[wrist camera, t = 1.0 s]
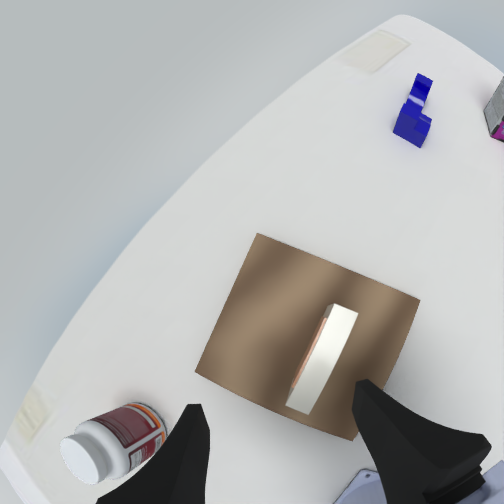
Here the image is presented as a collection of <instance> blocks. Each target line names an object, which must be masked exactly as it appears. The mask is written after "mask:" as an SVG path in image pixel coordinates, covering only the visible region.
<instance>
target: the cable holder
mask: <svg viewBox="0 0 504 504" xmlns="http://www.w3.org/2000/svg"><path fill="white" fill-rule="evenodd" d="M432 82H433V81H432V80H431V79H429V78H427V77H425V76H423V75H421V74H419V73H418V74H417V76H416V78H415V81H414V84H413V87H412V89H411V92H410V95H409V97H408V99H407V102H406V104H405V103H404V104H403V106H402V108H401V111H400V113H399V116H398V119H397V122H396V125H395V128H394V130H393V133H394V134H396V135H398V136H400V137H402V138H403V139H405V140H407V141H409V142H410V143H412V144H414V145H415V146H417V147H419V148H421V146H422V144H423V142H424V140H425V138H426V136H427V134H428V131H429V128H430V126H431V125H430V124H431V121H432V119H431V118H429V117H427V116H426V115H424V114H422V113H421V111H422V108H423V106H424V103H425V101H426V98H427V96H428V93H429V90H430V88H431V85H432Z"/></svg>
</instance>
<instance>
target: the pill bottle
mask: <svg viewBox="0 0 504 504" xmlns="http://www.w3.org/2000/svg"><path fill="white" fill-rule="evenodd" d="M165 440H166V431H165V427H164V425H163V423H162V421H161V419H160V418H159V417H158V415H157V414H156V413H155V412H154V411H152V410H151V409H150V408H148V407H147V406H145V405H142V404H138V403H131V404H127V405H125V406H122V407H120V408H117V409H115V410H113V411H110V412H108V413H105V414H103V415H100V416H98V417H95V418H92V419H90V420H87V421H85V422H82V423H81V424H79V425H78V426H77V427H76V429H75V432H74V435H71V436H68V437H66V438H64V439H62V441H61V443H60V451H61V454H62V457H63V459H64V461H65V463H66V465H67V466H68V468H69V469H70V470H71V472H72V473H73V474H74V475H75V476H76V477H77V478H79V479H80V480H81V481H83V482H85V483H87V484H90V485H95V484H97V483H99V482H101V481H103V480H104V479H105V478H106V479H112V480H114V479H119V478H121V477H123V476H125V475H126V474H128V473H129V472H130V471H132V470H133V469H135V468H136V467H137V466H139V465H140V464H141V463H143V462H144V461H145V460H147V459H148V458H149V457H151V456H152V455H153V454H155V453H156V452H157V451H158V450H159V448H160V447H161V446H162V444H163V443H164V442H165Z"/></svg>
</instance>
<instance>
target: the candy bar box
mask: <svg viewBox="0 0 504 504" xmlns="http://www.w3.org/2000/svg"><path fill="white" fill-rule="evenodd" d="M484 114H485V118H486V121H487V124H488V128H489V132H490V135H491V137H493V138H495V139H498V140H500V141H502V142H504V77H503V78H502V80H501V83H500V84H499V86H498V88H497V89H496V91H495V93H494V95H493V96H492V98H491V100H490V101H489V103H488V105H487V106H486V108H485V110H484Z"/></svg>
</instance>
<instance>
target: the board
mask: <svg viewBox="0 0 504 504" xmlns="http://www.w3.org/2000/svg"><path fill="white" fill-rule="evenodd" d="M334 303H335V304H337V305H339V306H342V307H344V308H347V309H349V310H352V311H354V312H356V313H358V316H357V318H356V320H355V323H354V325H353V327H352V330H351V332H350V334H349V336H348V339H347V341H346V343H345V345H344V347H343V349H342V352H341V354H340V356H339V358H338V360H337V362H336V364H335V366H334V368H333V370H332V372H331V374H330V376H329V378H328V380H327V382H326V384H325V386H324V388H323V390H322V391H321V393H320V395H319V397H318V399H317V401H316V402H315V404H314V406H313V408H312V410H311V411H310V413H309V415H307V414H305V413H302V412H300V411H297V410H295V409H293V408H290V407H288V406H285V405H286V401H287V398H288V395H289V391H290V388H291V384H292V381H293V378H294V376H295V372H296V370H297V368H298V366H299V364H300V362H301V360H302V358H303V356H304V353H305V351H306V349H307V347H308V345H309V343H310V341H311V339H312V336H313V334H314V332H315V330H316V328H317V326H318V323H319V321H320V319H321V317H323V315H324V313H325V311H326V308H327V306H328V305H331V304H334ZM419 303H420V300H419V299H417V298H414V297H412V296H410V295H407V294H405V293H403V292H400V291H398V290H396V289H393V288H391V287H389V286H386V285H384V284H382V283H379V282H377V281H374V280H372V279H370V278H367V277H365V276H362V275H360V274H358V273H355V272H353V271H350V270H348V269H346V268H343V267H341V266H338V265H336V264H333V263H331V262H328V261H326V260H324V259H321V258H319V257H316V256H314V255H311V254H309V253H306V252H304V251H301V250H299V249H296V248H294V247H291V246H289V245H286V244H284V243H281V242H279V241H276V240H274V239H271V238H269V237H266V236H264V235H261V234H258V233H257V234H256V236H255V239H254V241H253V243H252V245H251V247H250V250H249V252H248V254H247V256H246V259H245V261H244V263H243V265H242V267H241V270H240V272H239V274H238V276H237V278H236V281H235V283H234V285H233V287H232V290H231V292H230V294H229V296H228V298H227V301H226V303H225V305H224V307H223V310H222V312H221V314H220V316H219V318H218V321H217V323H216V325H215V327H214V330H213V332H212V334H211V336H210V339H209V341H208V343H207V345H206V347H205V350H204V352H203V354H202V356H201V359H200V361H199V363H198V365H197V368H196V370H195V372H196V373H198V374H199V375H201V376H203V377H205V378H207V379H208V380H210V381H212V382H214V383H216V384H218V385H220V386H221V387H223V388H225V389H227V390H229V391H231V392H233V393H235V394H237V395H239V396H241V397H243V398H245V399H247V400H249V401H251V402H253V403H256V404H258V405H260V406H262V407H264V408H266V409H269V410H271V411H273V412H275V413H278V414H280V415H282V416H285V417H287V418H290V419H292V420H295V421H297V422H300V423H302V424H305V425H307V426H310V427H312V428H315V429H318V430H321V431H323V432H326V433H329V434H332V435H335V436H338V437H341V438H344V439H347V440H350V441H353V440H354V438H355V437H356V435H357V433H358V432H359V430H358V428H357V425H356V422H355V419H354V416H353V413H352V404H353V398H354V391H355V384H356V382H357V381H361V380H364V379H369V380H370V381H371V382H372V383H374V384H375V385H376V386H377V387H379V388H380V389H381V390H383V388H384V386H385V384H386V382H387V380H388V378H389V376H390V374H391V371H392V369H393V367H394V365H395V363H396V361H397V358H398V356H399V354H400V352H401V349H402V347H403V345H404V342H405V340H406V337H407V335H408V333H409V330H410V327H411V325H412V322H413V320H414V317H415V314H416V311H417V309H418V306H419Z"/></svg>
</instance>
